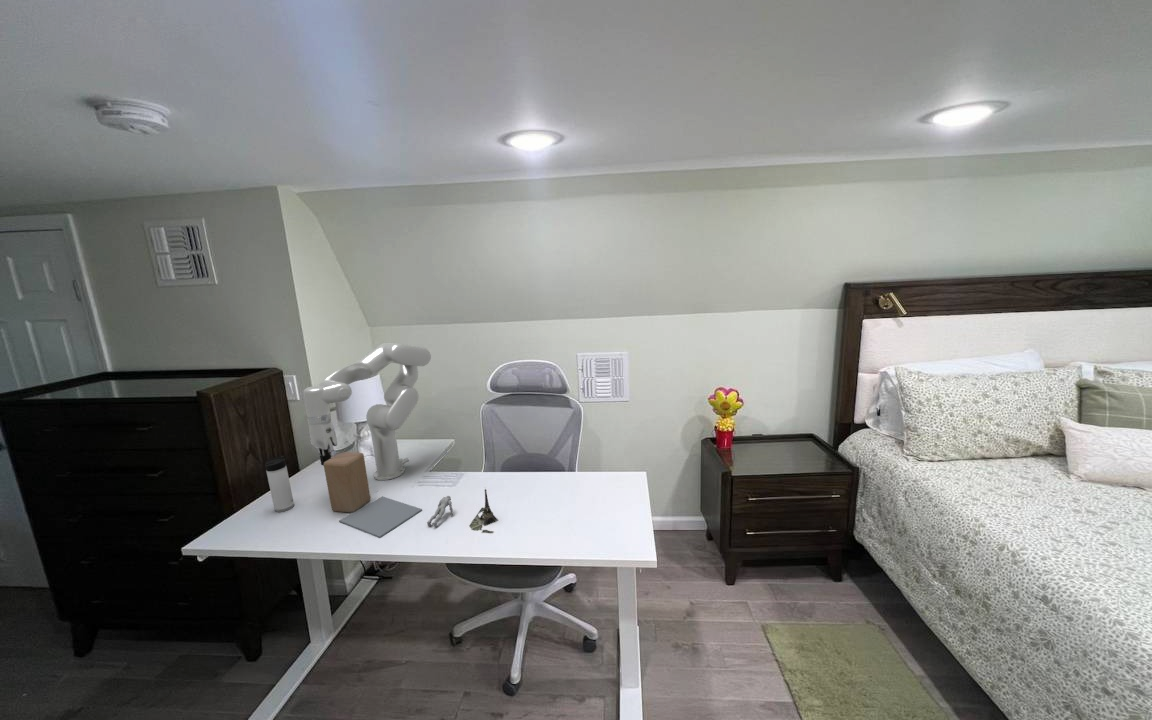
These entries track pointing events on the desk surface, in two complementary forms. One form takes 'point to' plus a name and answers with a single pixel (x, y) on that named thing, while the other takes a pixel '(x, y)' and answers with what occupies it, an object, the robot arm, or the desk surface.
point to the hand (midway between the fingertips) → (326, 464)
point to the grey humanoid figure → (441, 510)
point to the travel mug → (279, 484)
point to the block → (347, 481)
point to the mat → (380, 516)
